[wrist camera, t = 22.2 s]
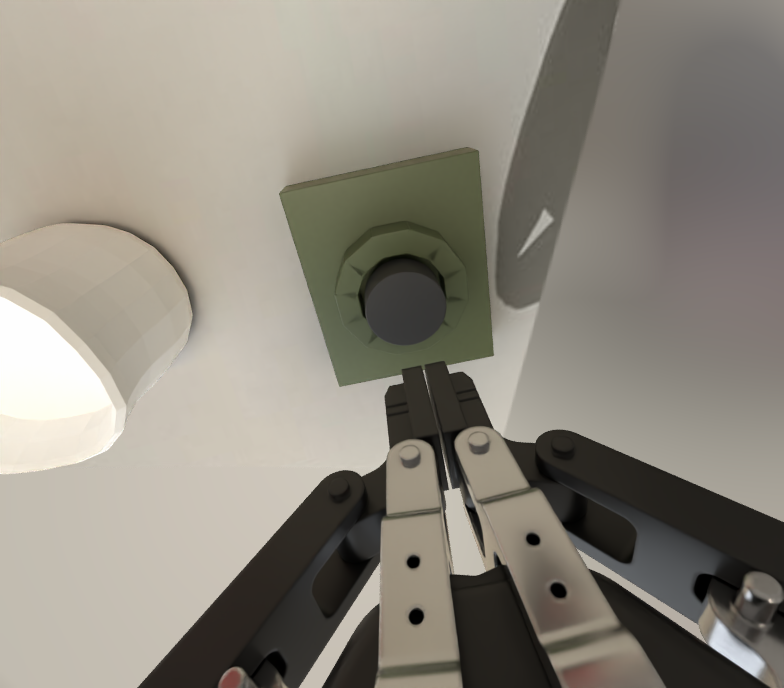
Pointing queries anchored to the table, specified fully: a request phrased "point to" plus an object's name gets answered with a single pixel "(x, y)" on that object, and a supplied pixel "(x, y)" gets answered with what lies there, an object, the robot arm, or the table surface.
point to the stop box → (394, 257)
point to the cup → (80, 339)
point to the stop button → (404, 302)
